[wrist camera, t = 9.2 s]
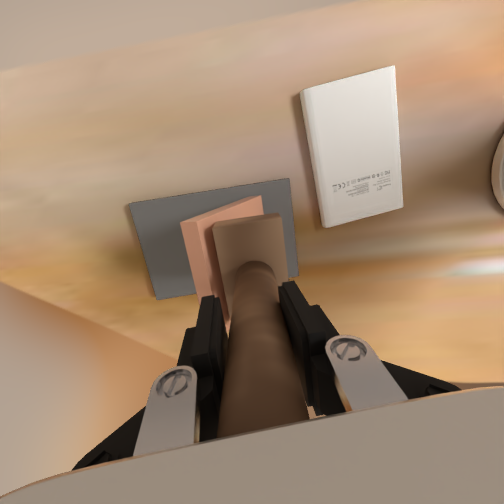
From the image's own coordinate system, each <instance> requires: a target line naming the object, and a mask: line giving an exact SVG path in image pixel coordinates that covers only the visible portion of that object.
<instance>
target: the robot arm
mask: <svg viewBox="0 0 504 504" xmlns="http://www.w3.org/2000/svg"><path fill="white" fill-rule="evenodd" d="M492 187H493V192H494V194H495V197H496V199H497V201H498V203H499V204H500V205H501V207H502V208H503V209H504V135H503V137H502V138H501V140H500V142H499V144H498V147H497V150H496V153H495V156H494V159H493V165H492ZM278 294H279V301H280V306H281V308H282V311H283V315H284V318H285V321H286V324H287V328H288V332H289V336H290V340H291V344H292V348H293V352H294V356H295V361H296V365H297V369H298V373H299V377H300V381H301V385H302V389H303V393H304V398H305V401H306V404H307V406H308V407H309V406H313V408H314V411H315V414H316V416H319V415H323V414H324V415H326V416H324V417H319V418H314V419H309V420H304V421H299V422H295V423H290V424H285V425H280V426H275V427H270V428H265V429H260V430H256V431H251V432H246V433H241V434H236V435H231V436H227V437H222V438H217V430H218V422H219V413H220V405H221V397H222V388H223V380H224V372H225V363H226V355H227V347H228V336H227V331H226V326H225V321H224V316H223V312H222V307H221V302H220V298H219V297H216V298H215V296H214V295H209V296H204V297H202V298H201V304H200V309H199V314H198V319H197V324H196V327H192V328H187V329H186V332H185V336H184V340H183V343H182V347H181V351H180V355H179V359H178V363H177V366H176V367H173V368H171V369H169V370H167V371H165V372H163V373H162V374H161V375H160V376H158V378H157V379H156V380H155V381H154V383H153V385H152V387H151V390H150V394H149V397H148V401H147V405H146V406H145V407H144V408H143V409H141V410H140V411H139V412H138V413H136V414H135V415H134V416H133V417H132V418H130V419H129V420H128V421H127V422H125V423H124V424H123V425H122V426H121V427H119V428H118V429H117V430H116V431H114V432H113V433H112V434H111V435H109V436H108V437H107V438H106V439H105V440H103V441H102V442H101V443H100V444H98V445H97V446H96V447H95V448H94V449H92V450H91V451H90V452H89V453H87V454H86V455H85V456H84V457H83V458H82V459H81V460H80V461H79V462H78V463H77V464H76V466H75V467H74V468H73V469H72V471H69V472H65V473H61V474H58V475H55V476H51V477H48V478H45V479H42V480H39V481H36V482H33V483H30V484H28V485H26V486H23V487H21V488H19V489H17V490H14V491H11V492H9V493H7V494H5V495H2V496H0V504H504V386H495V387H482V388H475V389H468V390H461V389H459V388H458V387H457V386H455V385H453V384H450V383H448V382H446V381H443V380H440V379H437V378H433V377H430V376H427V375H424V374H421V373H418V372H415V371H412V370H409V369H406V368H403V367H400V366H397V365H394V364H391V363H388V362H385V361H382V360H380V359H379V358H378V356H377V355H376V353H375V352H374V351H373V349H372V348H371V346H370V345H369V344H368V343H367V342H366V341H364V340H362V339H361V338H358V337H355V336H350V335H339V333H338V332H337V330H336V329H335V328H334V326H333V325H332V323H331V322H330V320H329V319H328V318H327V316H326V315H325V313H324V312H323V310H322V309H321V308H320V306H319V305H312V306H310V305H309V304H308V302H307V301H306V299H305V297H304V296H303V294H302V293H301V291H300V290H299V288H298V286H297V285H296V283H295V282H294V281H288V282H282V286H278ZM216 438H217V439H216Z"/></svg>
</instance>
